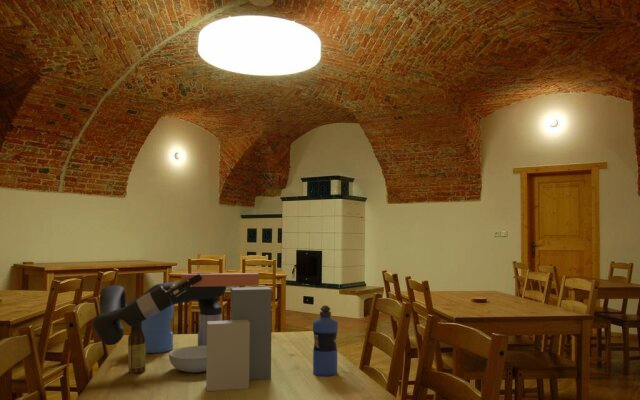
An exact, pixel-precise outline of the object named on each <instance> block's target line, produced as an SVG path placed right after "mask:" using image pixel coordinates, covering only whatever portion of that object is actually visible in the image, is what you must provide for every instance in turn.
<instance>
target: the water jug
mask: <svg viewBox="0 0 640 400" xmlns="http://www.w3.org/2000/svg"><path fill="white" fill-rule="evenodd" d="M153 286H154V285H153ZM153 286H151V287H153ZM174 307H175V305H171V306H170V307H168V308H166V309H165V310H163V311H161V312H159V313H158V314H156V315H154V316H152V317H149V318H147V319H146V320H144V321H142V331H143V334H144V337H145V347H146V348H145V351H146V354H148V353H153V354H161V353H162V352H163V353H166V352H171V351H172V350H173V348H174V333H173V331H172V329H171V327H172V323H171V322H172V319H173V318H174Z"/></svg>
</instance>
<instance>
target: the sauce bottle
mask: <svg viewBox="0 0 640 400" xmlns="http://www.w3.org/2000/svg"><path fill="white" fill-rule="evenodd" d="M130 327H131V328H130V333H129V335H128V338H127V340H128V341H127V357H128V358H127V359H128V362H127V363H128V364H127V366H128V367H127V368H128V372H129V373H131V372H134V373H133V374H139V373H138V372H140V373H143V372H145V371H146V366H147V362H146V359H147V358H146V355H147V353H146V351H145V348H146V347H145V337H144V334H143V331H142V322H140V323H139V324H137V325H135V326H130Z"/></svg>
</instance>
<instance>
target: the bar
mask: <svg viewBox="0 0 640 400" xmlns="http://www.w3.org/2000/svg"><path fill="white" fill-rule="evenodd" d="M196 275H198V274H197V273H181V274H180V281H181V282H185V281H186V280H188V279H191V278H192V277H194V276H196ZM259 275H260V274H259V273H258V272H244V273H243V272H237V273H233V272H232V273H231V272H230V273H229V272H227V273H223V272H221V273H216V272H215V273H200V276H201V278H202V280H201V281H199V282H197V283H195V284H194V285H192V287H206V286H226V287H260V286H259V284H260V279H259V278H260V276H259ZM184 286H185V284H184ZM185 287H186V286H185Z"/></svg>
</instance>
